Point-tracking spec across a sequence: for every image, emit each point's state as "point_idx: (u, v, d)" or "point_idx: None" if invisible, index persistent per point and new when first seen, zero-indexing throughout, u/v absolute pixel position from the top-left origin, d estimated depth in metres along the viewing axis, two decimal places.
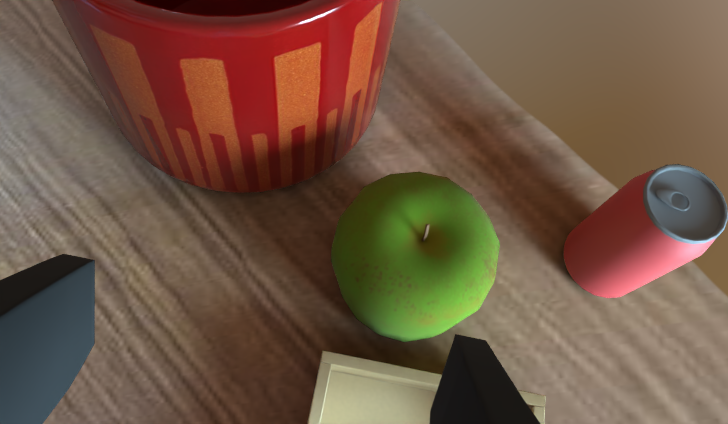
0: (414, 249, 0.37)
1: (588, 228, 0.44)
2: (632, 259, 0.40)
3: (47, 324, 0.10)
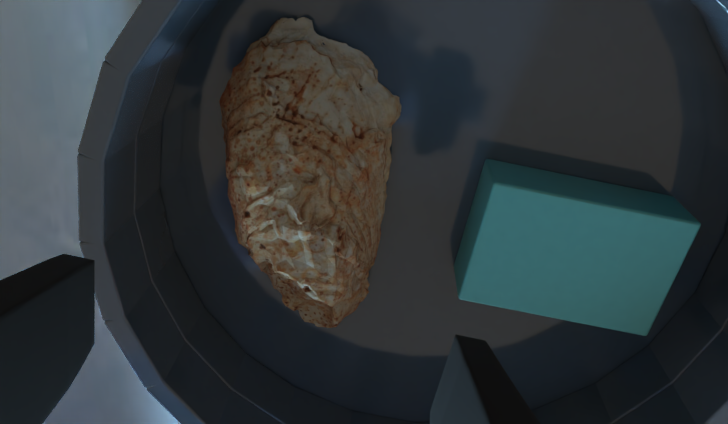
0: None
1: None
2: None
3: (47, 324, 0.10)
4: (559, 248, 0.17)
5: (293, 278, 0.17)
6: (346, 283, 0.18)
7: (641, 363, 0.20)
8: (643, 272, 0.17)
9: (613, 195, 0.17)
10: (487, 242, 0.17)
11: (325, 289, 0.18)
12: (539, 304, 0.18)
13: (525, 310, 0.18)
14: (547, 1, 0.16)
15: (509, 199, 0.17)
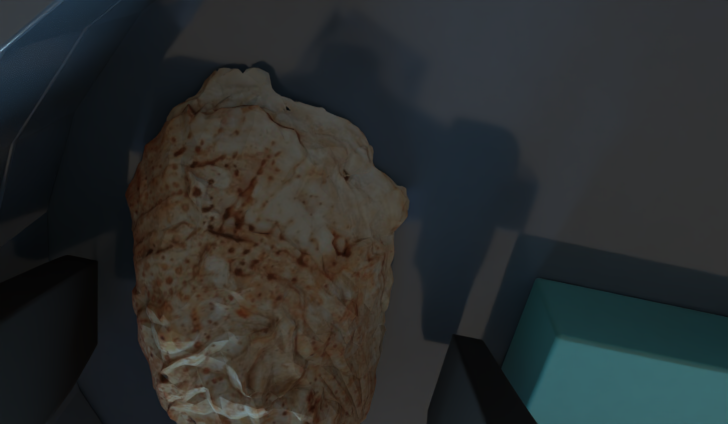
0: None
1: None
2: None
3: (51, 325, 0.10)
4: None
5: None
6: None
7: None
8: None
9: None
10: (541, 418, 0.11)
11: None
12: None
13: None
14: (647, 47, 0.10)
15: (580, 360, 0.10)
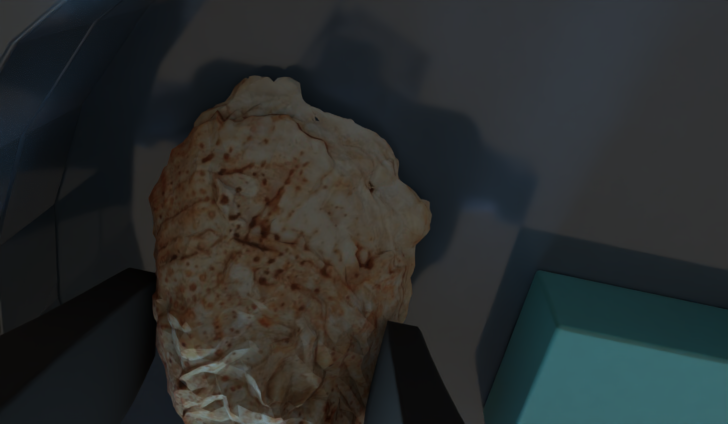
0: None
1: None
2: None
3: (121, 339, 0.10)
4: (653, 419, 0.11)
5: None
6: None
7: None
8: None
9: None
10: (542, 408, 0.11)
11: None
12: None
13: None
14: (647, 42, 0.10)
15: (580, 351, 0.11)
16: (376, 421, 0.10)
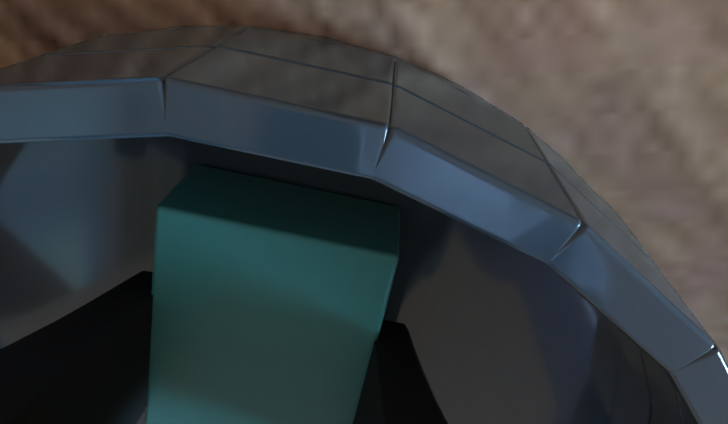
0: None
1: None
2: None
3: (137, 342, 0.10)
4: (230, 394, 0.11)
5: None
6: None
7: None
8: (260, 281, 0.10)
9: None
10: None
11: None
12: (335, 414, 0.11)
13: None
14: None
15: None
16: (361, 418, 0.10)
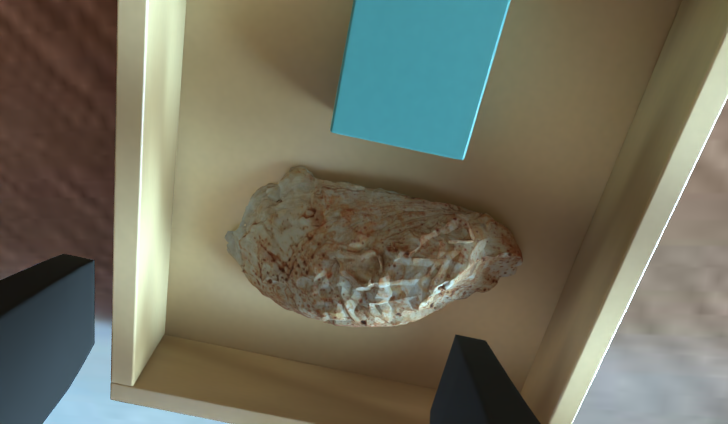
0: None
1: None
2: None
3: (47, 324, 0.10)
4: (401, 61, 0.16)
5: (425, 299, 0.18)
6: (449, 247, 0.18)
7: None
8: None
9: None
10: (395, 135, 0.17)
11: (446, 271, 0.18)
12: (473, 76, 0.16)
13: (480, 91, 0.16)
14: None
15: (347, 117, 0.17)
16: None
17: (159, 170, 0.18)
